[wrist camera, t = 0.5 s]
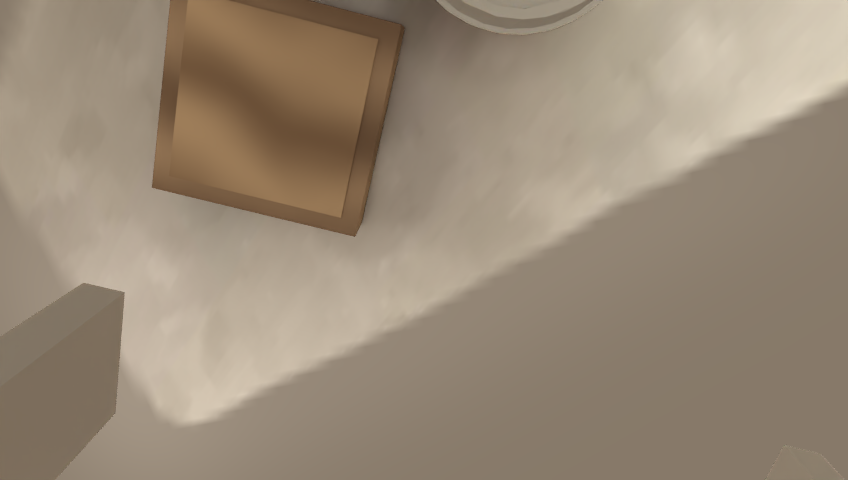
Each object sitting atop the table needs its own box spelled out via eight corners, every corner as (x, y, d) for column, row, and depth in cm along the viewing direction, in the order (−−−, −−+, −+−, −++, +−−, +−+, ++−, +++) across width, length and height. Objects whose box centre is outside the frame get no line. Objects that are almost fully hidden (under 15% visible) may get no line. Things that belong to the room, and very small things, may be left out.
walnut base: (198, -27, 31) (171, -36, 28) (404, 28, 32) (401, 24, 29) (175, 177, 35) (149, 188, 32) (361, 222, 36) (354, 237, 33)
